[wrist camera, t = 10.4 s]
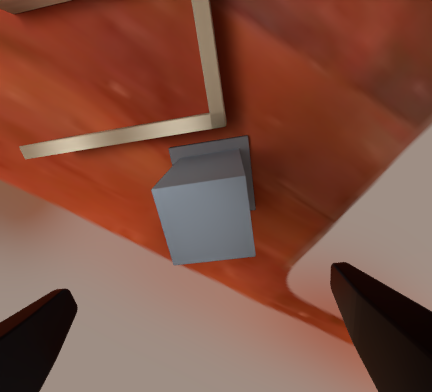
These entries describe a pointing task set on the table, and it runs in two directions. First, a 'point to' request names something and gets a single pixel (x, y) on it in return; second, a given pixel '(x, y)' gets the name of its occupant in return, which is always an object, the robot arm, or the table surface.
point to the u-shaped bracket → (16, 3)
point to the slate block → (205, 208)
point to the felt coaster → (218, 146)
